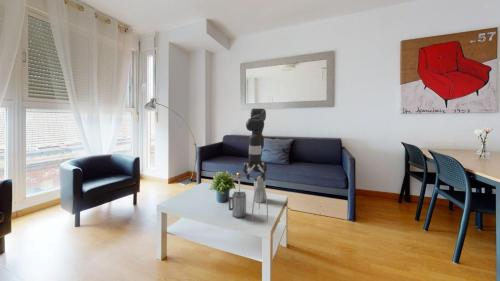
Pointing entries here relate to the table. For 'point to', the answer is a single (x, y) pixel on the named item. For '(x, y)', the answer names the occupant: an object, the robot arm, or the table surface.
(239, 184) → the plunger
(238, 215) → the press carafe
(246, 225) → the table surface
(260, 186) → the juicer
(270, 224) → the table surface
